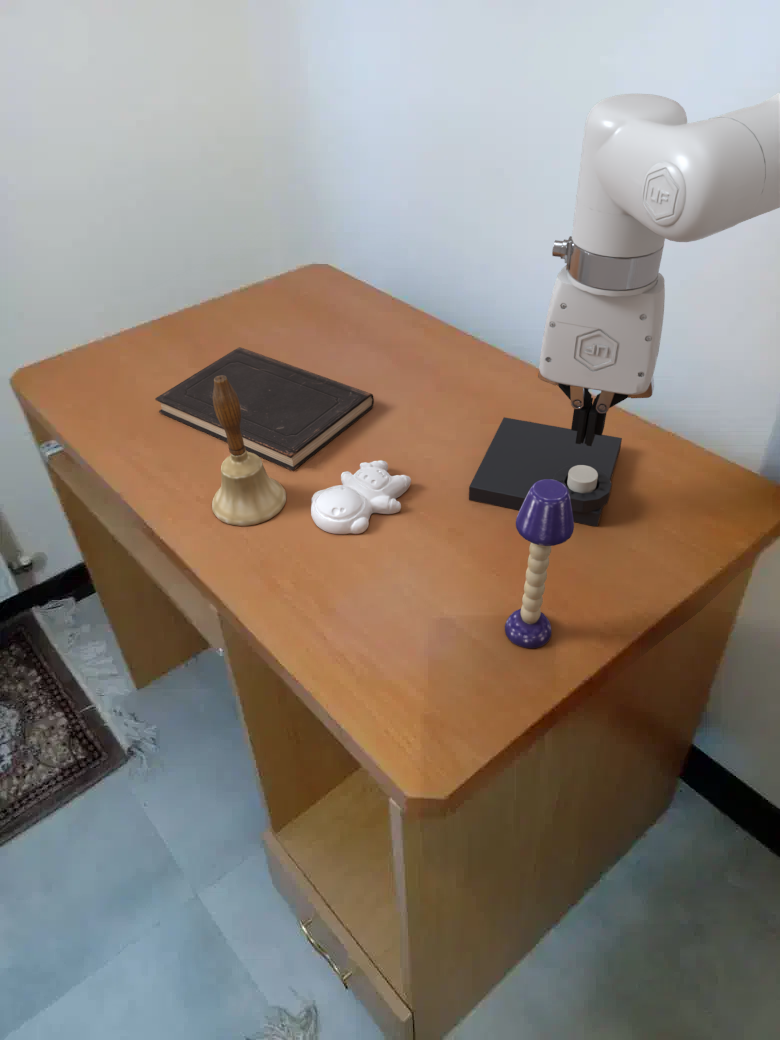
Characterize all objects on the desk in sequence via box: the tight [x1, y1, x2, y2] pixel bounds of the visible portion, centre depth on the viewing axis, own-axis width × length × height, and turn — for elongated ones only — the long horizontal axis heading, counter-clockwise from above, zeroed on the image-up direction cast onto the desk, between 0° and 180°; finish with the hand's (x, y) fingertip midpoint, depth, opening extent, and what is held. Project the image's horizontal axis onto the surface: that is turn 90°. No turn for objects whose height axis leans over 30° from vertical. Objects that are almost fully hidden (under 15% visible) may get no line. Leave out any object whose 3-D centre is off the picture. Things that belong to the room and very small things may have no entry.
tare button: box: [567, 465, 598, 493], centre depth 82 cm, size 3×3×2 cm
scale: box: [468, 416, 623, 528], centre depth 88 cm, size 14×14×4 cm
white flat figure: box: [310, 459, 412, 535], centre depth 86 cm, size 9×12×3 cm
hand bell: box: [211, 375, 287, 527], centre depth 83 cm, size 8×8×16 cm
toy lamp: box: [504, 479, 575, 649], centre depth 67 cm, size 5×5×17 cm
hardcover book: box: [155, 346, 375, 472], centre depth 101 cm, size 16×23×2 cm
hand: (586, 436), depth 79 cm, fingers closed
